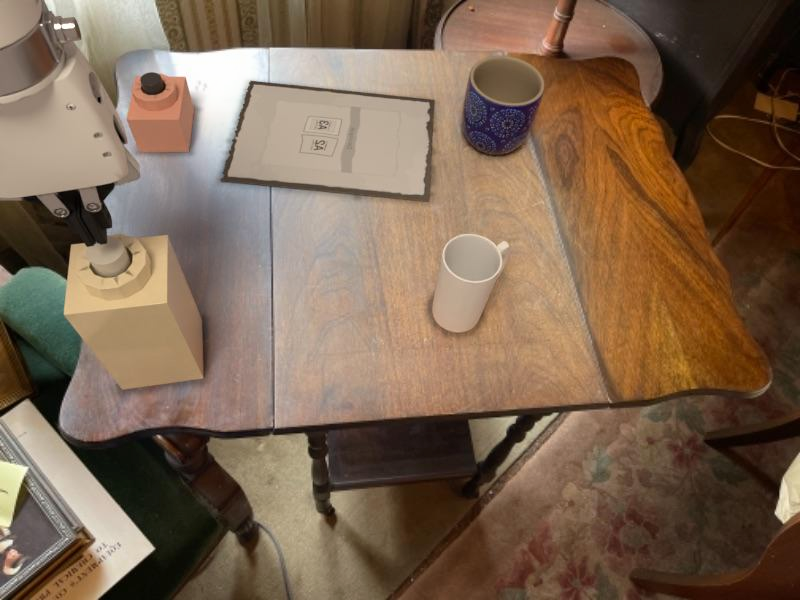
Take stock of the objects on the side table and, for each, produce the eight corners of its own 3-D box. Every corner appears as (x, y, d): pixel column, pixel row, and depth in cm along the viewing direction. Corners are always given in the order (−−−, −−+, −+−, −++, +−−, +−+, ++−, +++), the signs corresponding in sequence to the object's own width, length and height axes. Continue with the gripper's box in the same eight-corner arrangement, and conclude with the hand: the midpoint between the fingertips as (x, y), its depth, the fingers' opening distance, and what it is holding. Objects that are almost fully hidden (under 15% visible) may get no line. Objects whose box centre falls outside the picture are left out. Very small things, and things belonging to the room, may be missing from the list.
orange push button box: (139, 152, 88) (122, 109, 81) (147, 110, 93) (131, 65, 86) (188, 152, 89) (176, 109, 82) (194, 110, 94) (182, 65, 87)
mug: (450, 344, 75) (467, 292, 65) (419, 305, 78) (430, 249, 68) (511, 307, 79) (536, 252, 69) (479, 271, 82) (498, 213, 71)
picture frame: (220, 181, 86) (429, 202, 87) (219, 179, 86) (429, 200, 87) (249, 81, 98) (434, 100, 99) (249, 79, 97) (434, 98, 98)
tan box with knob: (122, 389, 69) (54, 303, 53) (125, 329, 73) (62, 231, 57) (203, 378, 70) (161, 291, 54) (202, 319, 75) (162, 221, 58)
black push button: (142, 95, 84) (138, 85, 82) (145, 82, 85) (141, 71, 83) (163, 96, 84) (160, 85, 82) (165, 82, 85) (162, 72, 84)
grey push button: (92, 279, 55) (84, 266, 53) (95, 251, 57) (87, 237, 55) (129, 275, 55) (123, 262, 54) (131, 247, 57) (124, 234, 55)
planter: (443, 126, 96) (454, 66, 86) (500, 106, 99) (516, 47, 90) (481, 172, 91) (497, 114, 82) (539, 150, 95) (561, 92, 85)
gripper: (116, -3, 40) (182, 186, 56) (-141, 20, 37) (4, 214, 53) (122, 70, 36) (190, 251, 52) (-164, 103, 33) (0, 284, 49)
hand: (97, 232), depth 52 cm, fingers closed
